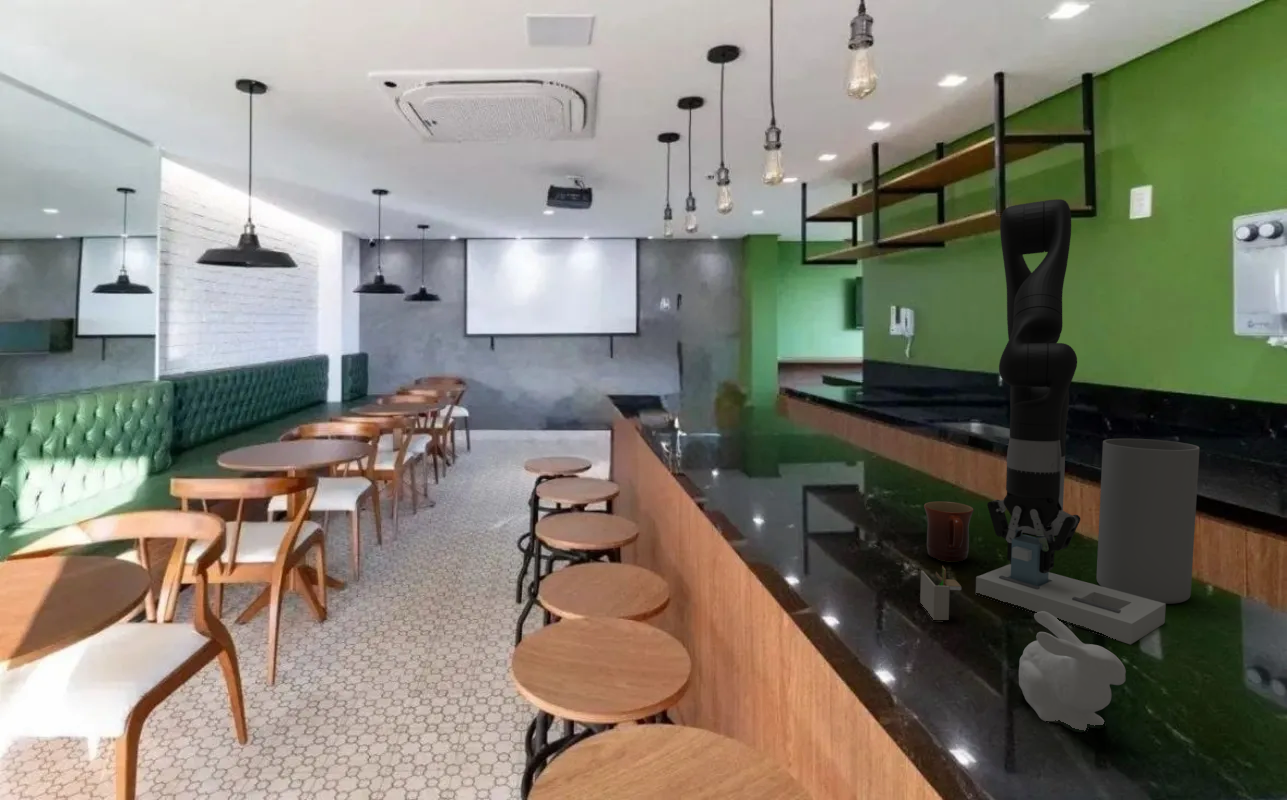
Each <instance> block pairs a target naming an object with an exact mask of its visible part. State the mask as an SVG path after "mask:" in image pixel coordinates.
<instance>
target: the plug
mask: <svg viewBox="0 0 1287 800" xmlns="http://www.w3.org/2000/svg"><path fill="white" fill-rule="evenodd" d="M1041 550H1042V549H1041V546H1040V542H1039V538H1038V537H1037V536H1036V537H1035V536H1031V535H1027V534H1022V536H1019V537H1016V538H1013V539H1012V552H1011V578H1012V579H1015V580H1019V581H1022V582H1026V583H1029V584H1032V585H1036V586H1041V585H1043V584H1046V583H1048V574H1049V572H1050V571H1049V572H1047V573H1045V574H1044V573H1041V572H1040V571H1039V567H1040V551H1041Z"/></svg>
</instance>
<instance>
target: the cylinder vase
mask: <svg viewBox="0 0 1287 800" xmlns="http://www.w3.org/2000/svg"><path fill="white" fill-rule="evenodd" d="M1199 462H1200V447H1199V445H1195V444H1190V443H1186V442H1185V443H1184V442H1178V441H1170V440H1162V439H1161V440H1160V439H1148V438H1147V439H1144V438H1111V439H1110V438H1109V439H1104V440H1103V441H1102V455H1101V475H1100V477H1101V478H1100V493H1099V494H1100V497H1099V499H1100V500H1099V501H1100V502H1099V520H1098V537H1097V557H1096V559H1097V560H1096V561H1097V562H1096V582H1097V583H1098V586H1102V587H1106V588H1109V589H1113V590H1117V591H1121V592H1124V593H1128V594H1132V595H1135V596H1139V597H1143V598H1147V599H1150V600H1154V601H1158V602H1161V603H1165V604H1166V605H1168V604H1169V605H1170V604H1171V605H1172V604H1173V605H1174V604H1181V603H1184V602H1187V601H1188V600H1189V599H1190V597H1191V595H1192V576H1193V564H1194V563H1193V562H1194V559H1193V558H1194V546H1195V545H1194V544H1195V526H1196V513H1197V512H1196V511H1197V498H1198V497H1197V496H1198V479H1199V465H1200V463H1199Z"/></svg>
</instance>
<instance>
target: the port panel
mask: <svg viewBox="0 0 1287 800" xmlns="http://www.w3.org/2000/svg"><path fill="white" fill-rule="evenodd" d="M976 593H980V594H982V595H986V596H989V597H992V598H995V599H998V600H1000V601H1003V602H1008V603H1011V604H1014V605H1018V606H1021V607H1024V608H1027V609H1029V610H1032V611H1035V612H1041V611H1045V612H1048V613H1050V614H1051V615H1053V616H1054V617H1056V618H1059V619H1061V620H1064V621H1067V622H1070V623H1073V624H1076V625H1080V626H1084V627H1086V628H1089V629H1091V630H1094V631H1096V632H1099V633H1102V634H1104V635H1106V636H1108V637H1107V638H1109V637H1110V638H1109V639H1112V638H1113V640H1115V639H1116V641H1119V642H1122V643H1125V644H1128V645H1133V644H1134V643H1136V642H1137V641H1138V640H1140V639H1142V638H1143V637H1146V636H1147V635H1148V634H1150V633H1152V632H1153V631H1154V630H1156V629H1157V628H1159V627H1161V626H1163V625H1164V624H1165V621H1166V606H1167V604H1165V603H1161V602H1158V601H1154V600H1150V599H1147V598H1143V597H1139V596H1135V595H1132V594H1128V593H1124V592H1121V591H1117V590H1113V589H1109V588H1106V587H1102V586H1100V585H1099V584H1094V583H1090V582H1086V581H1083V580H1080V579H1079V580H1078V579H1077V578H1076V579H1075V578H1072V577H1068V576H1065V575H1061V574H1056V573H1054V572H1050V571H1049V574H1048V583H1046V584H1043V585H1041V586H1036V585H1032V584H1029V583H1026V582H1022V581H1019V580H1015V579H1012V578H1011V564H1010V563H1009V564H1006V565H1003V566H1002V567H999V568H996V569H993V570H991V571H988V572H986V573H983V574H981V575H977V576H976V577H975V594H976ZM1106 636H1105V637H1106Z"/></svg>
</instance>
